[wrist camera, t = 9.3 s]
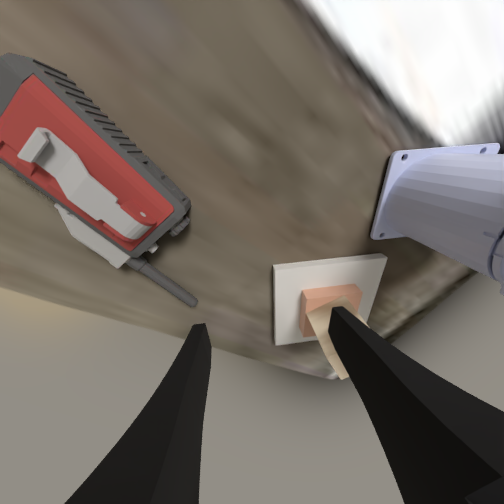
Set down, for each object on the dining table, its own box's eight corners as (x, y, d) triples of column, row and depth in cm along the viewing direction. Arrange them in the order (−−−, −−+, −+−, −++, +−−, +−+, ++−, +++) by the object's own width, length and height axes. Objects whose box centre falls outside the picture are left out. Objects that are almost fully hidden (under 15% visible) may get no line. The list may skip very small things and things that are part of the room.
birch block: (344, 295, 20) (376, 336, 15) (354, 319, 22) (386, 362, 17) (306, 313, 21) (326, 357, 16) (319, 335, 23) (341, 379, 18)
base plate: (381, 253, 21) (398, 265, 19) (358, 327, 27) (370, 343, 24) (272, 264, 20) (278, 279, 18) (274, 338, 26) (278, 356, 24)
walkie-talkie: (-25, 146, 13) (191, 301, 22) (-129, 144, 9) (182, 333, 18) (40, 40, 11) (250, 256, 20) (-59, -16, 7) (255, 282, 16)
